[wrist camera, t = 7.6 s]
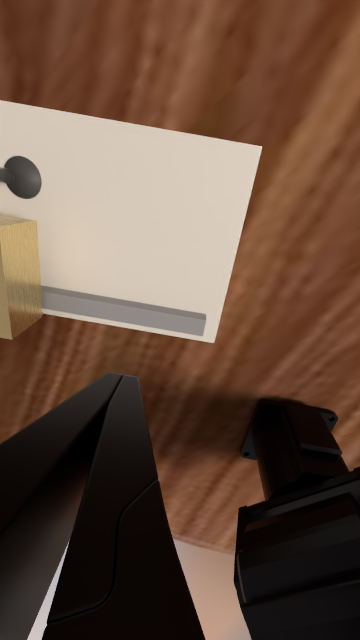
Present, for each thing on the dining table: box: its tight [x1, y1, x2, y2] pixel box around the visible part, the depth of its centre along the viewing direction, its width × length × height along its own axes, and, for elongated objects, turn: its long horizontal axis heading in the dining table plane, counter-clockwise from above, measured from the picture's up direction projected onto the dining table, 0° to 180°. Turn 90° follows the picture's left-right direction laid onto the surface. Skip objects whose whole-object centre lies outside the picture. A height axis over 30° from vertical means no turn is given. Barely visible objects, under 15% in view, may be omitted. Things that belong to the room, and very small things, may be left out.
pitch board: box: [0, 100, 262, 343], centre depth 15 cm, size 12×24×6 cm, turn 81°
